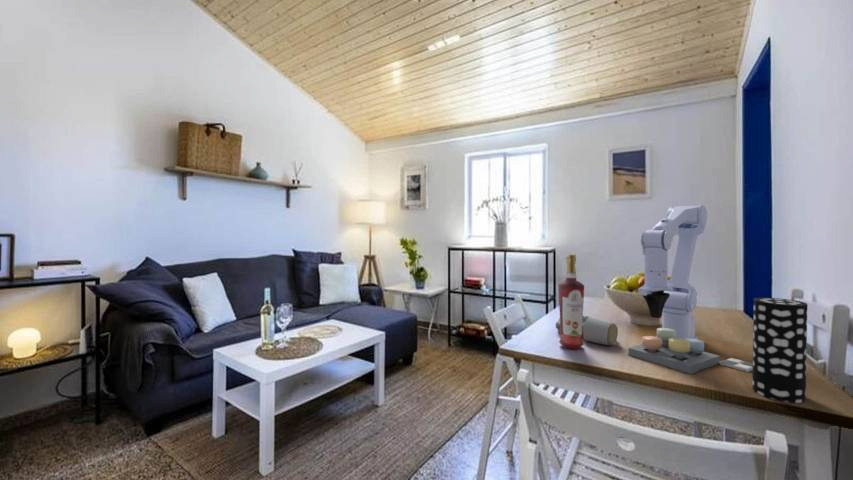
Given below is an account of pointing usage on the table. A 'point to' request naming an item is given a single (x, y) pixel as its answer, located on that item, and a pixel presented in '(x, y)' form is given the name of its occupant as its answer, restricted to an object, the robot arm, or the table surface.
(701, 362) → the button console
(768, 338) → the white-spotted black cylinder
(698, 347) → the button
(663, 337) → the button
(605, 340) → the grey cylinder
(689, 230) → the robot arm
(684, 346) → the button
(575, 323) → the liquor
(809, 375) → the table surface
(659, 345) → the button
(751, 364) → the card
